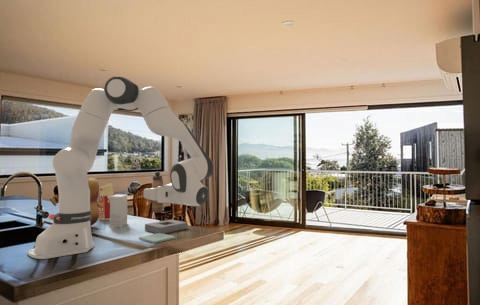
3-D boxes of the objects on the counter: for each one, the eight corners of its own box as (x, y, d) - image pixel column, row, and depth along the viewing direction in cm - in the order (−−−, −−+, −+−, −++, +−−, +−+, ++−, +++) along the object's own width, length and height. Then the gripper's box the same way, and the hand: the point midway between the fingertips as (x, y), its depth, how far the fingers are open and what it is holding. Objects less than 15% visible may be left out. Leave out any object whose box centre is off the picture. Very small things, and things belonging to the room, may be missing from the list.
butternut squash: (97, 229, 167) (98, 178, 167) (67, 231, 163) (67, 178, 163) (100, 224, 180) (100, 176, 180) (71, 225, 176) (72, 176, 176)
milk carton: (112, 216, 203) (112, 182, 203) (118, 218, 196) (118, 183, 196) (96, 218, 197) (96, 183, 197) (101, 220, 190) (101, 184, 190)
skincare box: (115, 223, 181) (115, 194, 181) (128, 223, 181) (128, 194, 181) (109, 227, 173) (109, 196, 173) (122, 227, 173) (122, 196, 173)
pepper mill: (156, 212, 146) (156, 171, 146) (149, 211, 149) (149, 171, 149) (165, 211, 150) (165, 171, 150) (158, 210, 153) (158, 170, 153)
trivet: (154, 243, 142) (154, 241, 142) (138, 239, 149) (138, 237, 149) (175, 238, 150) (175, 236, 150) (160, 234, 157) (160, 232, 157)
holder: (160, 234, 158) (160, 227, 158) (144, 230, 166) (144, 224, 166) (187, 228, 170) (187, 222, 170) (171, 225, 178) (171, 219, 178)
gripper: (195, 183, 149) (175, 182, 158) (156, 187, 133) (135, 185, 142) (195, 198, 149) (175, 195, 158) (156, 203, 133) (135, 200, 142)
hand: (156, 190), depth 150 cm, fingers closed on pepper mill, 5 cm apart
